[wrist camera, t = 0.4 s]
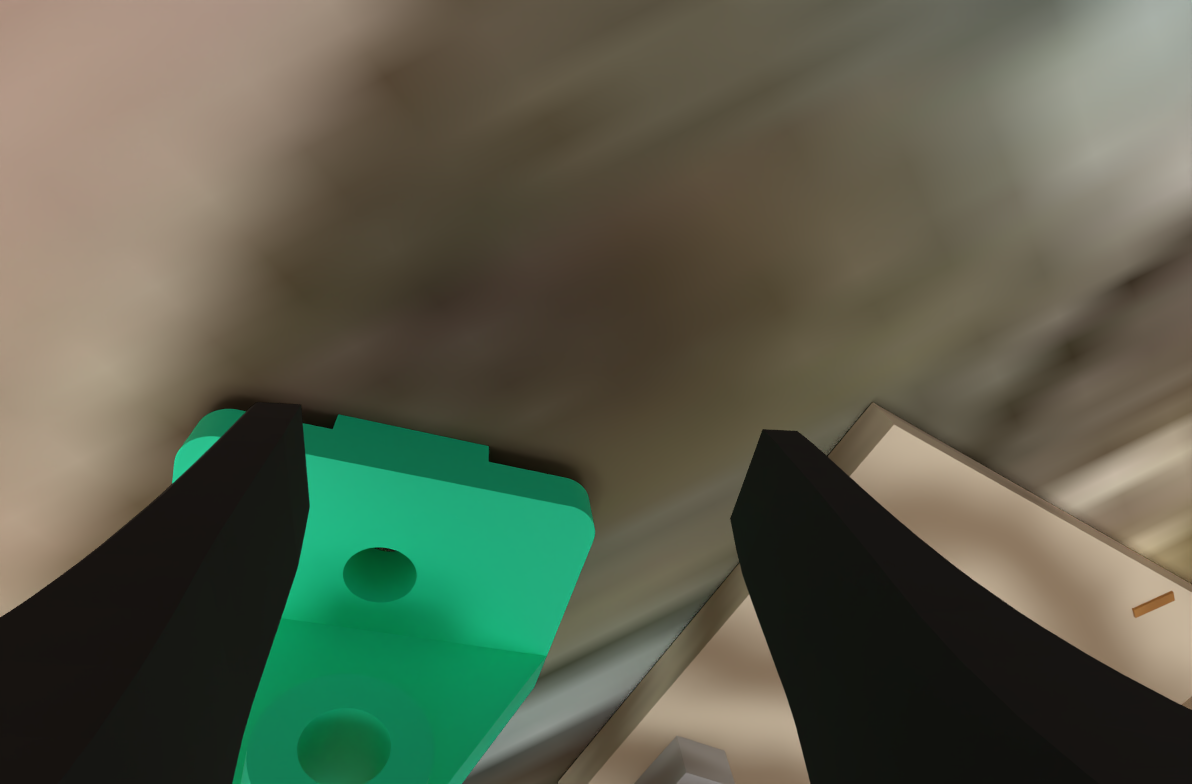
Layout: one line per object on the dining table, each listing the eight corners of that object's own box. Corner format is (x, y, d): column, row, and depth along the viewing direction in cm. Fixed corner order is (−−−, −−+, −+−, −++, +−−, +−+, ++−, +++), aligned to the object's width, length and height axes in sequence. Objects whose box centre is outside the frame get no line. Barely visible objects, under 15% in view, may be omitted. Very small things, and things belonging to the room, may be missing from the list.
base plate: (914, 879, 39) (955, 962, 36) (558, 781, 32) (566, 875, 28) (1235, 608, 32) (1323, 681, 29) (872, 402, 25) (934, 466, 21)
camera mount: (594, 466, 25) (652, 730, 16) (530, 631, 28) (548, 932, 19) (211, 383, 22) (10, 652, 13) (187, 579, 25) (13, 907, 16)
